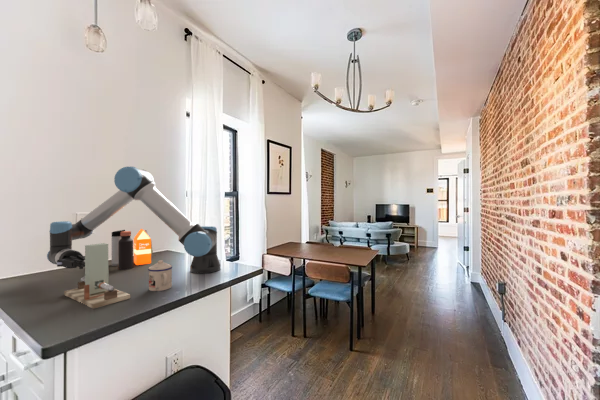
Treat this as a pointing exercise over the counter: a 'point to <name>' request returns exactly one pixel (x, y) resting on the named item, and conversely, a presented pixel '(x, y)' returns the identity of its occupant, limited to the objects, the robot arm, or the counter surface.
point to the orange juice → (142, 248)
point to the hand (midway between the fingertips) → (92, 265)
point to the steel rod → (101, 285)
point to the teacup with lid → (160, 276)
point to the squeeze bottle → (151, 243)
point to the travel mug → (115, 247)
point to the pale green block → (96, 266)
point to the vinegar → (125, 251)
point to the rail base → (95, 296)
